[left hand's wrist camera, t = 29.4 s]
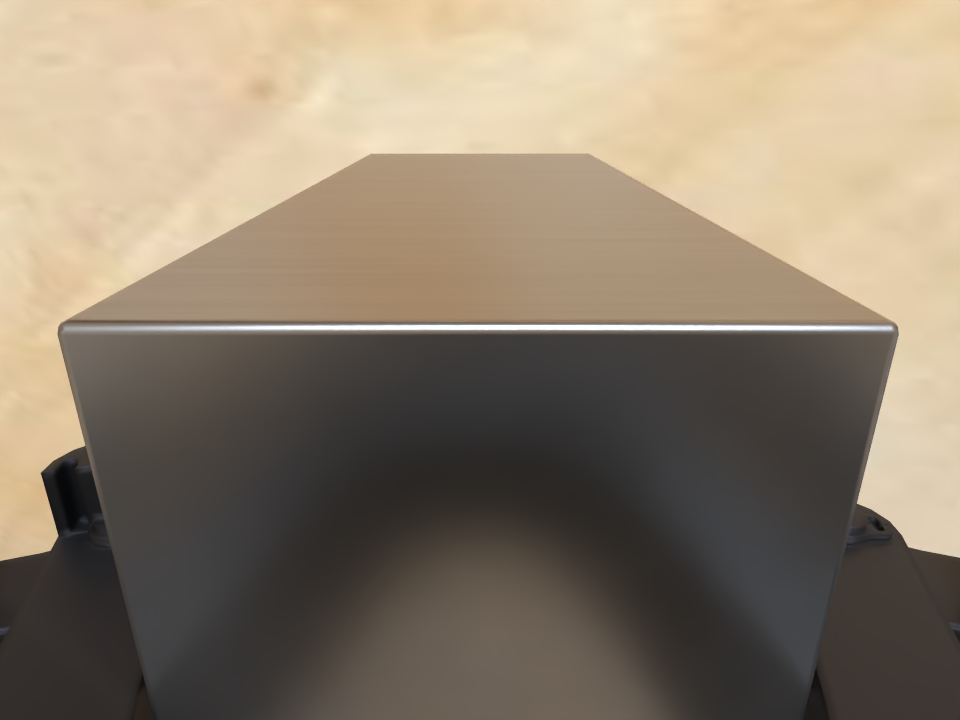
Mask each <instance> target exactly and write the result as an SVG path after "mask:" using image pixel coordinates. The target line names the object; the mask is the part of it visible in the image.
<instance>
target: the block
mask: <svg viewBox="0 0 960 720" xmlns="http://www.w3.org/2000/svg"><path fill="white" fill-rule="evenodd" d="M898 335H899V334H898V327H897V325H896V323H894V322H892V321H891V320H889V319H887V318H885V317H883V316H882V315H880V314H878V313H876V312H874V311H872V310H871V309H869V308H867V307H865V306H863V305H862V304H860V303H858V302H856V301H854V300H853V299H851V298H849V297H847V296H845V295H843V294H842V293H840V292H838V291H836V290H834V289H833V288H831V287H829V286H827V285H825V284H824V283H822V282H820V281H818V280H816V279H815V278H813V277H811V276H809V275H807V274H805V273H804V272H802V271H800V270H798V269H796V268H795V267H793V266H791V265H789V264H787V263H786V262H784V261H782V260H780V259H778V258H777V257H775V256H773V255H771V254H769V253H767V252H766V251H764V250H762V249H760V248H758V247H757V246H755V245H753V244H751V243H749V242H748V241H746V240H744V239H742V238H740V237H739V236H737V235H735V234H733V233H731V232H729V231H728V230H726V229H724V228H722V227H720V226H719V225H717V224H715V223H713V222H711V221H710V220H708V219H706V218H704V217H702V216H700V215H699V214H697V213H695V212H693V211H691V210H690V209H688V208H686V207H684V206H682V205H681V204H679V203H677V202H675V201H673V200H672V199H670V198H668V197H666V196H664V195H662V194H661V193H659V192H657V191H655V190H653V189H652V188H650V187H648V186H646V185H644V184H643V183H641V182H639V181H637V180H635V179H634V178H632V177H630V176H628V175H626V174H624V173H623V172H621V171H619V170H617V169H615V168H614V167H612V166H610V165H608V164H606V163H605V162H603V161H601V160H599V159H597V158H595V157H594V156H592V155H590V154H370V155H368V156H366V157H364V158H363V159H361V160H359V161H357V162H355V163H353V164H352V165H350V166H348V167H346V168H344V169H342V170H341V171H339V172H337V173H335V174H333V175H331V176H330V177H328V178H326V179H324V180H322V181H320V182H319V183H317V184H315V185H313V186H311V187H309V188H308V189H306V190H304V191H302V192H300V193H298V194H297V195H295V196H293V197H291V198H289V199H287V200H286V201H284V202H282V203H280V204H278V205H276V206H275V207H273V208H271V209H269V210H267V211H265V212H264V213H262V214H260V215H258V216H256V217H254V218H253V219H251V220H249V221H247V222H245V223H243V224H242V225H240V226H238V227H236V228H234V229H232V230H231V231H229V232H227V233H225V234H223V235H221V236H220V237H218V238H216V239H214V240H212V241H210V242H209V243H207V244H205V245H203V246H201V247H199V248H198V249H196V250H194V251H192V252H190V253H188V254H187V255H185V256H183V257H181V258H179V259H177V260H176V261H174V262H172V263H170V264H168V265H166V266H165V267H163V268H161V269H159V270H157V271H155V272H154V273H152V274H150V275H148V276H146V277H144V278H143V279H141V280H139V281H137V282H135V283H133V284H132V285H130V286H128V287H126V288H124V289H122V290H121V291H119V292H117V293H115V294H113V295H111V296H110V297H108V298H106V299H104V300H102V301H100V302H99V303H97V304H95V305H93V306H91V307H89V308H88V309H86V310H84V311H82V312H80V313H78V314H77V315H75V316H73V317H71V318H69V319H67V320H66V321H64V322H62V323H61V324H60V325H59V327H58V338H59V342H60V346H61V350H62V354H63V358H64V362H65V366H66V370H67V374H68V378H69V382H70V386H71V389H72V393H73V397H74V401H75V405H76V409H77V413H78V417H79V421H80V425H81V429H82V433H83V437H84V441H85V445H86V449H87V453H88V457H89V461H90V465H91V469H92V473H93V477H94V481H95V485H96V489H97V493H98V497H99V501H100V505H101V509H102V513H103V517H104V521H105V525H106V529H107V533H108V537H109V541H110V545H111V549H112V553H113V557H114V561H115V565H116V569H117V573H118V577H119V581H120V585H121V589H122V593H123V597H124V601H125V605H126V609H127V613H128V617H129V621H130V625H131V629H132V633H133V637H134V640H135V644H136V648H137V652H138V656H139V660H140V664H141V668H142V672H143V676H144V680H145V684H146V688H147V692H148V696H149V700H150V704H151V708H152V712H153V716H154V720H803V717H804V713H805V709H806V705H807V701H808V697H809V693H810V689H811V685H812V681H813V677H814V673H815V669H816V665H817V661H818V657H819V653H820V649H821V645H822V641H823V637H824V633H825V629H826V625H827V621H828V617H829V613H830V609H831V604H832V600H833V596H834V592H835V588H836V584H837V580H838V576H839V572H840V568H841V564H842V560H843V556H844V552H845V548H846V544H847V540H848V536H849V532H850V528H851V524H852V520H853V516H854V512H855V508H856V504H857V500H858V496H859V492H860V488H861V484H862V480H863V476H864V472H865V468H866V464H867V460H868V455H869V451H870V447H871V443H872V439H873V435H874V431H875V427H876V423H877V419H878V415H879V411H880V407H881V403H882V399H883V395H884V391H885V387H886V383H887V379H888V375H889V371H890V367H891V363H892V359H893V355H894V351H895V347H896V343H897V339H898Z"/></svg>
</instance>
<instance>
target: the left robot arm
mask: <svg viewBox="0 0 960 720" xmlns="http://www.w3.org/2000/svg"><path fill="white" fill-rule="evenodd" d="M41 475H42V479H43V482H44V486H45V489H46V493H47V496H48V500H49V503H50V507H51V511H52V514H53V518H54V521H55V525H56V528H57V532H58V535H59V536H58V538H57V540H56V542H55V544H54V546H53V547H52V549H51V551H48V552H44V553H40V554H35V555H30V556H24V557H19V558H14V559H9V560H3V561H0V720H154V716H153V712H152V708H151V704H150V700H149V696H148V692H147V688H146V684H145V680H144V676H143V672H142V668H141V664H140V660H139V656H138V652H137V648H136V644H135V640H134V637H133V633H132V629H131V625H130V621H129V617H128V613H127V609H126V605H125V601H124V597H123V593H122V589H121V585H120V581H119V577H118V573H117V569H116V565H115V561H114V557H113V553H112V549H111V545H110V541H109V537H108V533H107V529H106V525H105V521H104V517H103V513H102V509H101V505H100V501H99V497H98V493H97V489H96V485H95V481H94V477H93V473H92V469H91V465H90V461H89V457H88V453H87V449H86V446H84V447H81V448H78V449H75V450H73V451H71V452H69V453H67V454H65V455H64V456H62V457H60V458H58V459H56V460H54V461H53V462H52V463H51V464H50V465H49V466H48V467H47V468H46V469H45V470H43V471H42V472H41ZM803 720H960V558H958V557H953V556H947V555H942V554H937V553H931V552H926V551H921V550H917V549H913V548H909V547H908V546H907V544H906V543H905V541H904V539H903V537H902V535H901V534H900V533H899V532H898V530H897V529H896V528H895V527H894V526H893V525H892V524H891V522H890V521H888V520H887V519H885V518H883V517H882V516H880V515H879V514H877V513H876V512H874V511H873V510H871V509H869V508H866V507H864V506H861V505H859V504H856V508H855V512H854V516H853V520H852V524H851V528H850V532H849V536H848V540H847V544H846V548H845V552H844V556H843V560H842V564H841V568H840V572H839V576H838V580H837V584H836V588H835V592H834V596H833V600H832V604H831V609H830V613H829V617H828V621H827V625H826V629H825V633H824V637H823V641H822V645H821V649H820V653H819V657H818V661H817V665H816V669H815V673H814V677H813V681H812V685H811V689H810V693H809V697H808V701H807V705H806V709H805V713H804V717H803Z"/></svg>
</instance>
